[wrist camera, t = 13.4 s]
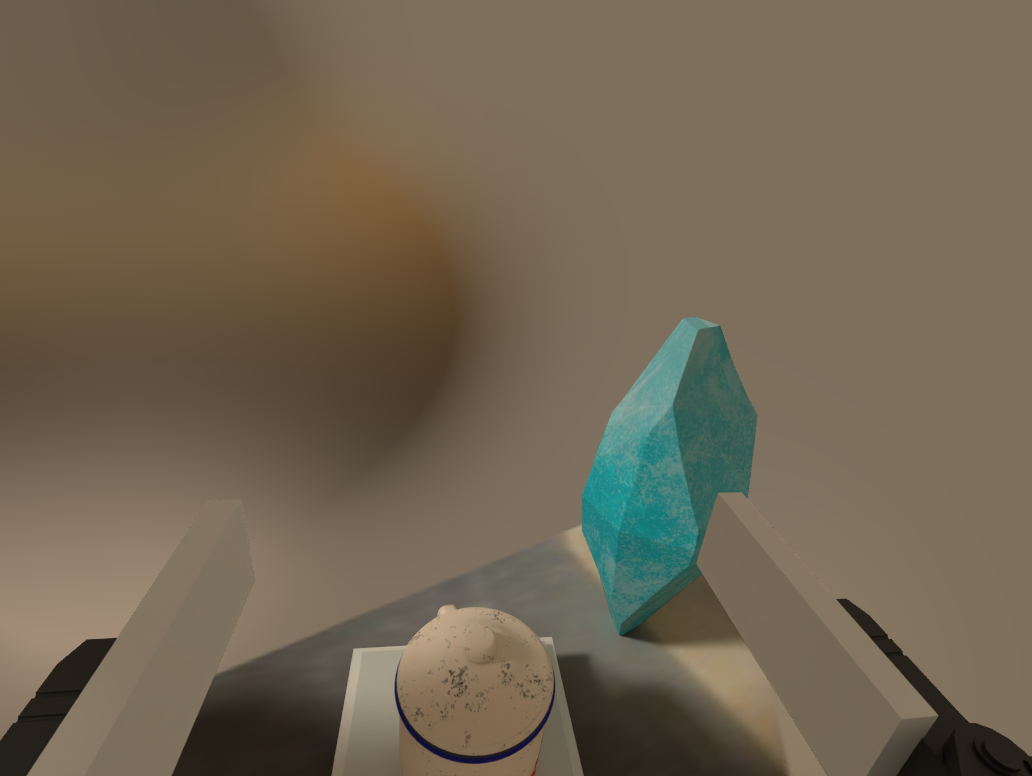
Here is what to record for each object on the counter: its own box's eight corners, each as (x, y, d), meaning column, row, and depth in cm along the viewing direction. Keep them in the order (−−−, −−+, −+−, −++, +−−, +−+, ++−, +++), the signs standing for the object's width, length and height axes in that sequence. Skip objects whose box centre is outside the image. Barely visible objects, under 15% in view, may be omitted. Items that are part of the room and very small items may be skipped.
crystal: (728, 637, 48) (837, 337, 36) (623, 710, 41) (714, 364, 28) (635, 556, 57) (697, 294, 45) (536, 604, 50) (576, 306, 37)
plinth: (310, 958, 27) (303, 922, 25) (355, 677, 41) (353, 643, 40) (599, 914, 29) (610, 880, 28) (547, 664, 44) (552, 632, 42)
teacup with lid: (562, 819, 30) (592, 690, 25) (409, 882, 27) (409, 747, 22) (498, 648, 40) (511, 533, 35) (381, 679, 37) (377, 557, 32)
